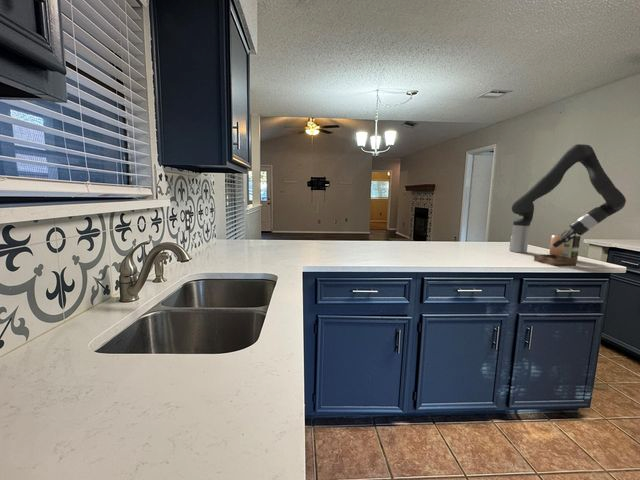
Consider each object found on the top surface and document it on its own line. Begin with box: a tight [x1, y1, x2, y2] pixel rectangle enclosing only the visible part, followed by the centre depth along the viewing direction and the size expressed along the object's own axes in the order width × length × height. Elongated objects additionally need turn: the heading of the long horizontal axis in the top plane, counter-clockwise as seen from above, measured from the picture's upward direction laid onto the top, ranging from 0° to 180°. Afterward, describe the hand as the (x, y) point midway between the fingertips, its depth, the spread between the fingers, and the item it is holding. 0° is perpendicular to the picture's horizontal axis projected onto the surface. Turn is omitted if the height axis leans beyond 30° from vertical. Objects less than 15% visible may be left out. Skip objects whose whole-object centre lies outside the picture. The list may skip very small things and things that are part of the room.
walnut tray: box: [533, 253, 578, 267], centre depth 172 cm, size 13×13×4 cm
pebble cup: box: [548, 234, 564, 255], centre depth 171 cm, size 6×6×10 cm
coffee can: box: [560, 235, 582, 262], centre depth 181 cm, size 10×10×14 cm
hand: (552, 245), depth 172 cm, fingers closed on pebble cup, 5 cm apart
